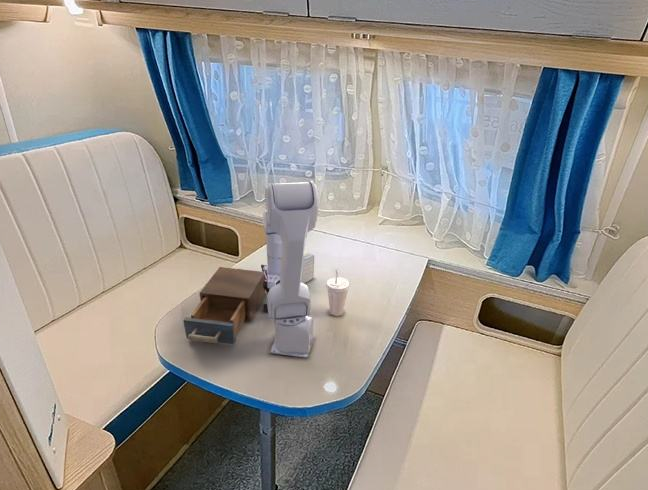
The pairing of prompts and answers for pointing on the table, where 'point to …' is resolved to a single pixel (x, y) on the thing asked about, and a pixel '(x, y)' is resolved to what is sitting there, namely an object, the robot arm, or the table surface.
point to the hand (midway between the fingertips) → (279, 297)
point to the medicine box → (307, 267)
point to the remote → (265, 306)
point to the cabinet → (237, 287)
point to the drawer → (216, 320)
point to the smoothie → (337, 294)
